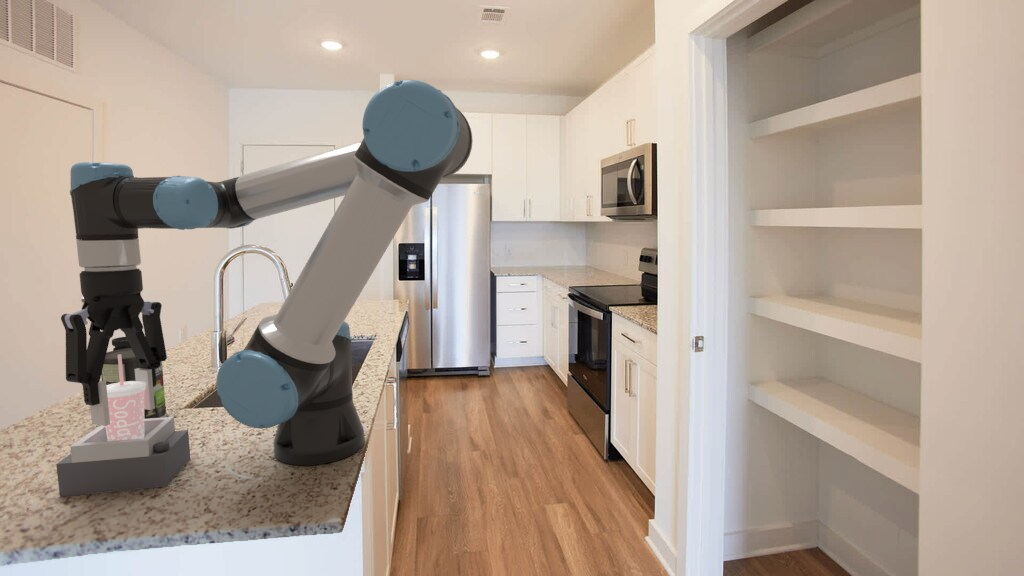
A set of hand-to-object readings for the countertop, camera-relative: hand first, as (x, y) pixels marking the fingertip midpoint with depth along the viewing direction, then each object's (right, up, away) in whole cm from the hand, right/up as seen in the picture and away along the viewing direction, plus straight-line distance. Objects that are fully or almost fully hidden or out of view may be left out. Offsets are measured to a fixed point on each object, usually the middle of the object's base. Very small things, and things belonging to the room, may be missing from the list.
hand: (124, 415), depth 84 cm
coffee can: (-16, -7, +25) cm, 31 cm away
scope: (-26, -5, +38) cm, 46 cm away
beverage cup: (0, -4, 0) cm, 5 cm away
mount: (0, -10, +1) cm, 10 cm away
